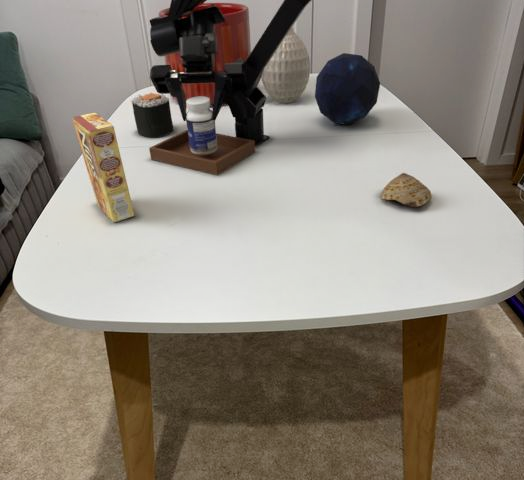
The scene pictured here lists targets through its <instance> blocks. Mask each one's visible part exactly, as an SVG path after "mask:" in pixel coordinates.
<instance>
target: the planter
mask: <svg viewBox="0 0 524 480" xmlns="http://www.w3.org/2000/svg"><path fill="white" fill-rule="evenodd" d="M212 4H214V5H215V6H216V7H218V8H219V10H220V11H221V13H222V14H223V16H224V18H225V22H223V23H219V24H216V25H215V33H216V36H217V51H218V52H217V54H215V62H214V71H225V63H234V62H235V61H237V60H238V59H239V58H240V57H241V58H242V59H243V60H244V62H245V61H246V59H247V58H248V57H249V55H250V53H251V52H252V46H251V45H252V44H251V26H250V10H249V7H248V6H247V5H246V4H242V3H233V2H204V3H203V4H201V5H199V6H197V7H195V8H194V10H193V11H197V10H201V9H205V8H208V7H210V6H211V5H212ZM169 9H170V7H168V8H164V9H161V10H160V11H159V12H158V17H164V16H168V13H169ZM193 11H192V12H193ZM190 14H191V13H190ZM190 14H187V15H185V16H183V17H182V18H186V17H188V16H189V15H190ZM163 57H164V65H171V68H172V70H177V71H179V72H185V70H186V68H183V66H182V58H180V52H179V53H174V54H170V55H166V56H163ZM182 87H183V89H184V92H185V94H186V101H187V100H188V99H189V98H192V97H197V96H205V97H208V98H209V99H210V104H211V105H210V107H213V101H214V92H215V83H199V84H189V83H185V84H183V86H182ZM169 95H170V97H171V98H172V99H173V100H175V101H176V102H178V101H177V98H176V97H172V96H171V94H169ZM223 105H227V104H226V103H225V102H224V104H223ZM223 105H222V106H223Z"/></svg>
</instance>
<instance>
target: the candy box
mask: <svg viewBox="0 0 524 480" xmlns="http://www.w3.org/2000/svg"><path fill="white" fill-rule="evenodd" d="M72 122H73V125H74V130H75V133H76V136H77V139H78V143H79V146H80V149H81V153H82V156H83V160H84V163H85V167H86V170H87V173H88V177H89V180H90V184H91V187H92V191H93V193H94V198H95V201H96V204H97V206H98V207H99V209H100V210H101V211H103V213H104V214H105V215H106V216H107V217H108V218H109V219H110V220H111V222H113V223H117V222H121V221H123V220H126V219H129V218H133V217H135V211H134V207H133V202H132V198H131V194H130V190H129V186H128V181H127V177H126V173H125V169H124V168H125V167H124V165H123V161H122V157H121V153H120V148H119V144H118V140H117V134H116V131H115V127H114V125H113V124H112V123H110V122H109V121H107V120H106V119H105V118H104V117H102V116H101V115H99V114H97V113H96V112H91V113H87V114H82V115H78V116H73V117H72Z"/></svg>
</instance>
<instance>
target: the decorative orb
mask: <svg viewBox="0 0 524 480" xmlns="http://www.w3.org/2000/svg"><path fill="white" fill-rule="evenodd" d="M380 87H381V82H380V78H379V76H378V74H377V70H376V68H375V66H374V65H373V63H371V62H370V61H369V60H367V59H366V58H365V57H364V56H363V55H360V54H354V53H346V52H344V53H341V54H338V55H337V56H334V57H333V58H331V59H329V60H327V62H326V63H325V64H324V66H323V67H322V69H321V70H320V71H319V73H318V74H317V76H316V81H315V89H314V98H315V101H316V104H317V107H318V110H319V113H320V114H321V115H322V116H324V117H325V118H327V119H328V120H330V121H331V122H332V123H334V124H339V125H346V126H351V125H353V124H355V123H358V122H359V121H361V120H363V119H365V118H366V117H367V115H368V114H369V113H370V112H371V110H372V109H373V108H374V107H375V105H377V103H378V98H379V92H380Z"/></svg>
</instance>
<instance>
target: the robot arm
mask: <svg viewBox="0 0 524 480" xmlns="http://www.w3.org/2000/svg"><path fill="white" fill-rule="evenodd" d="M207 1H208V0H171V1H170V5H169V8H170V9H169V13H168V16H164V17H159V16H155V17H154V18H150V19H149V24H150V29H149V34H150V40H149V41H150V45H151V47H152V50H153V52H154V53H155V54H156V56H158V57H160V58H161V57H164V56H166V55H170V54H174V53H179V52H180V58H182V66H183V68H186V70H185V72H179V71H177V70H172V68H171V65H166V64H157V65H156V64H155V65H154V64H153V65H152V67H151V68H150V70H149V79H150V81H151V83H152V85H153V87H154V89H155V91H156V93H157V94H159V95H162V94H163V95H166V94H168V95H170V94H171V95H170V97H171V96H172V97H176V98H177V101H176V102H177V104H178V107H179V111H180V114H181V118H182V121H183V122H186V114H187V104H186V94H185V92H184V89H183V87H182V86H183V84H185V83H189V84H199V83H215V92H214V101H213V106H212V109H211V110H212V117H213V120H215V121H216V119H217V118H218V115H219V113H220V111H221V110H222V107H223V104H224V102H225V103H226V104H224V105H227V107H228V108H229V110H230V113H231V115H232V118H234V131H235V137H238V138H243V139H248V140H254V141H255V148H256V147H258V146H259V145H262V144H263V143H265V142H266V141H268V140H269V139H270V137H271V136H269V135H267V134H265V131H264V109H263V108H264V107H265V104H266V102H267V95H265V93H264V92H263V91H262V90H261V89H260V88H259V84H260V81H261V80H262V79H261V76H262V74H263V71H264V68H265V66H266V65H267V63H268V62H269V61H270V59H271V58H272V56H273V55H274V53H275V52H276V50H277V49H278V47H279V46H280V44H281V43H282V41H283V40H284V38H285V37H286V35H287V34H288V32H289V31H290V29H291V28H293V27H294V25H295V23H296V22H297V20H298V19H299V17H300V16H301V14H302V13H303V12H304V10H305V9H306V7H307V6H308V5H309V4H310V3H311V2H312V0H283V1H282V3H281V5H280V7H279V8H278V9H277V11H276V12H275V14H274V15H273V17H272V19H271V21H270V22H269V24H268V25H267V26H266V28H265V30H264V31H263V32H262V34H261V36H260V38H259V39H258V41H257V43H256V44H255V46H254V47H253V49H251V53H250V55H249V57H248V58H247V59H246V61H245V62H244V60H243V59H242V58H241V57H240V58H239V59H238V60H237V61H235V62H234V63H225V71H214V62H215V54H217V52H218V51H217V36H216V33H215V25H216V24H219V23H223V22H225V18H224V16H223V14H222V13H221V11H220V10H219V8H218V7H216V6H215V5H214V4H212V5H211V6H210V7H208V8H205V9H201V10H197V11H193V10H194V8H195V7H197V6H199V5H201V4H203V3H206V2H207ZM192 11H193V12H192ZM190 13H191V14H190ZM187 14H190V15H189V16H188V17H186V18H182V17H183V16H185V15H187ZM172 97H171V98H172Z"/></svg>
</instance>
